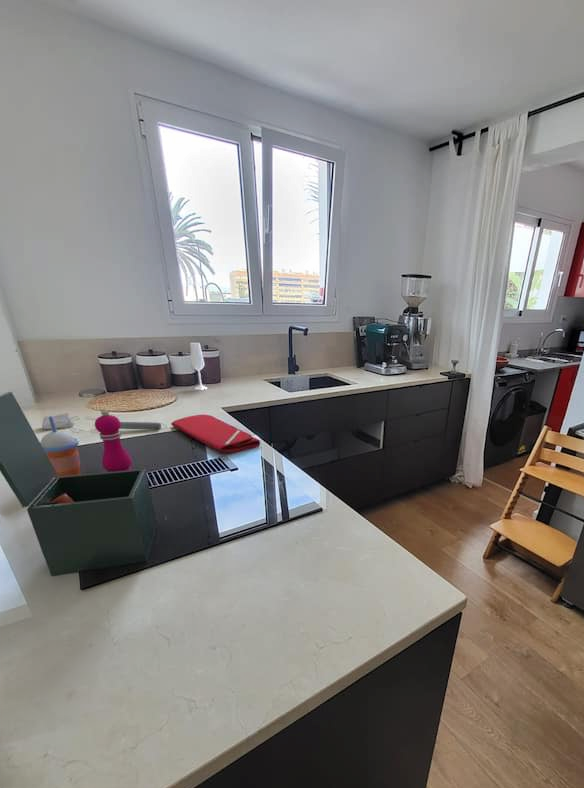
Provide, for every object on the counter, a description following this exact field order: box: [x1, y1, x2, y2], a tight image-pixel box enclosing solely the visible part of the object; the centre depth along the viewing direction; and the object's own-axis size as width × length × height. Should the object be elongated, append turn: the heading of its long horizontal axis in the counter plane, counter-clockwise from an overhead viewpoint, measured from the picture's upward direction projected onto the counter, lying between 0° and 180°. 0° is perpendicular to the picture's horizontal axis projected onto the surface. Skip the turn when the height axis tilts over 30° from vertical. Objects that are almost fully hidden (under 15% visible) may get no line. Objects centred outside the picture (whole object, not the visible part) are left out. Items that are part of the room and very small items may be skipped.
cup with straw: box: [40, 416, 82, 479], centre depth 109 cm, size 9×9×18 cm
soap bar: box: [41, 412, 74, 430], centre depth 152 cm, size 10×6×6 cm, turn 121°
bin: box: [26, 468, 158, 577], centre depth 80 cm, size 17×14×15 cm
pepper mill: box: [94, 409, 133, 472], centre depth 110 cm, size 7×7×20 cm
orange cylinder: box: [52, 493, 74, 505], centre depth 79 cm, size 3×3×13 cm
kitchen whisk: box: [66, 415, 168, 434], centre depth 148 cm, size 6×34×6 cm, turn 102°
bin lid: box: [0, 391, 57, 508], centre depth 71 cm, size 18×14×1 cm
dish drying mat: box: [170, 414, 261, 454], centre depth 147 cm, size 16×41×4 cm, turn 45°
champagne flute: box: [189, 342, 208, 391], centre depth 211 cm, size 7×7×24 cm
